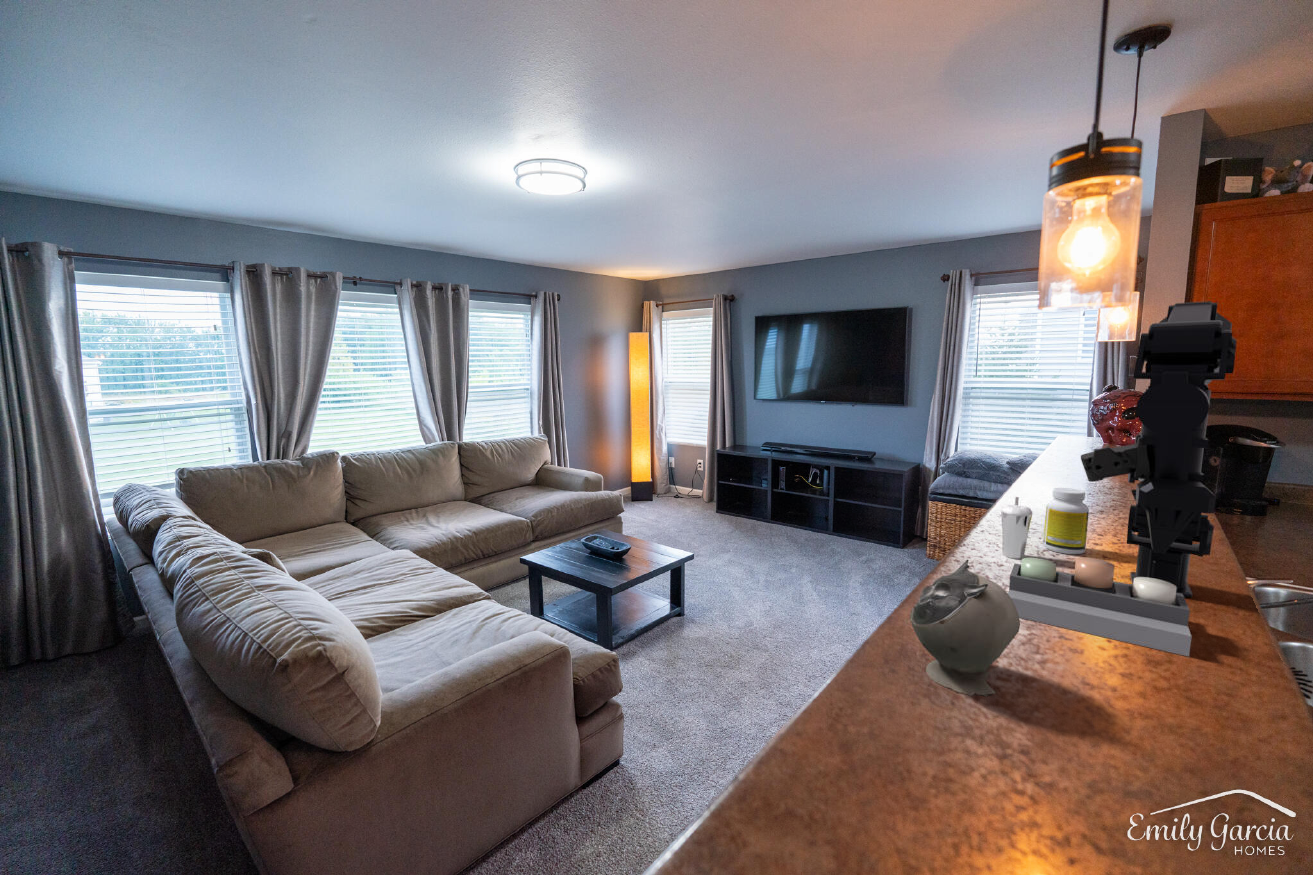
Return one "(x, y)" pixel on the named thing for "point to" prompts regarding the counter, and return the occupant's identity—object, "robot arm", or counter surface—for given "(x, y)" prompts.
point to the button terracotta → (1094, 572)
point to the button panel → (1102, 611)
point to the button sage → (1038, 569)
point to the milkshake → (1015, 529)
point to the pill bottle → (1066, 522)
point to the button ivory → (1154, 590)
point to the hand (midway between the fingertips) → (1158, 551)
